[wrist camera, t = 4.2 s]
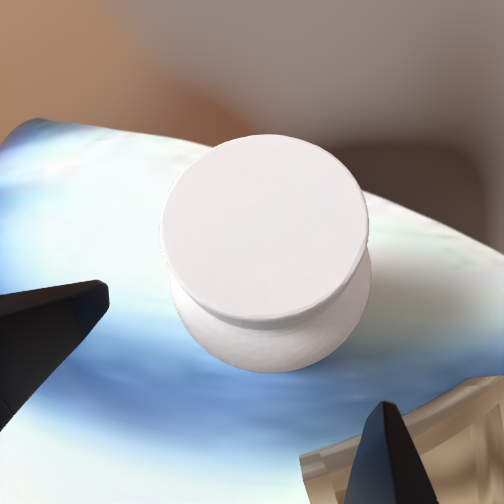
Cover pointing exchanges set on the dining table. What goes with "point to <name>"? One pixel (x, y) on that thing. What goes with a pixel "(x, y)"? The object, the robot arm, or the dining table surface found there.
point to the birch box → (434, 448)
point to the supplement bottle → (267, 252)
